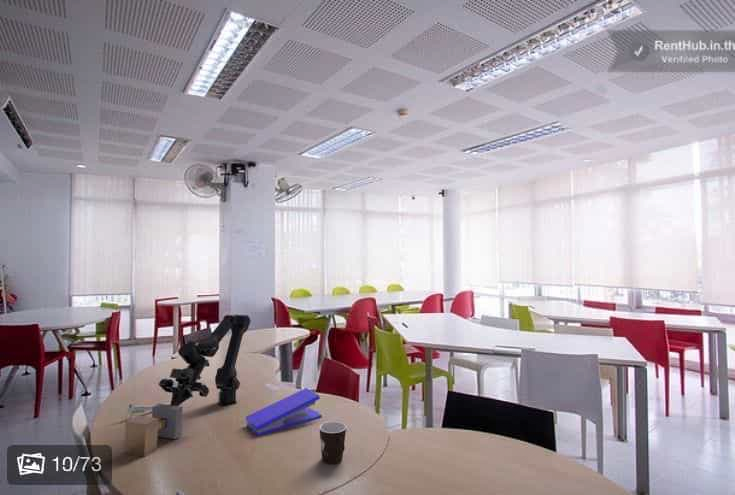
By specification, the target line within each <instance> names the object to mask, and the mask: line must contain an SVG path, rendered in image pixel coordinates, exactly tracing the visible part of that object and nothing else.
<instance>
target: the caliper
mask: <svg viewBox="0 0 735 495" xmlns="http://www.w3.org/2000/svg"><path fill="white" fill-rule="evenodd" d="M165 404H166V405H171V402H170V403H169V402H168V403H165ZM155 405H156V404H150V405H145V404H144V405H143V404H142V405H135V403H132V404H131V403H129V406H128V407H127V408H126V411H125V421H127V420H130V419H132V418H134V417H136V414H137V413H139V414H141V413H142V414H144V413H145V412H146V411H150V410H151V411H152V409H153V406H155Z"/></svg>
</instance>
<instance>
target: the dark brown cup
mask: <svg viewBox="0 0 735 495" xmlns="http://www.w3.org/2000/svg"><path fill="white" fill-rule="evenodd" d="M318 427H319V437H320V438H319V439H320V450H321V460H322V462H323V463H325V464H326V465H337V464H340V463H341V462H342V461H343V456H344V451H345V446H346V445H345V441H346V435H347V425H346V424H345V423H344V422H339V421H327V422H323V423H322V424H320V425H319V426H318Z"/></svg>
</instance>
